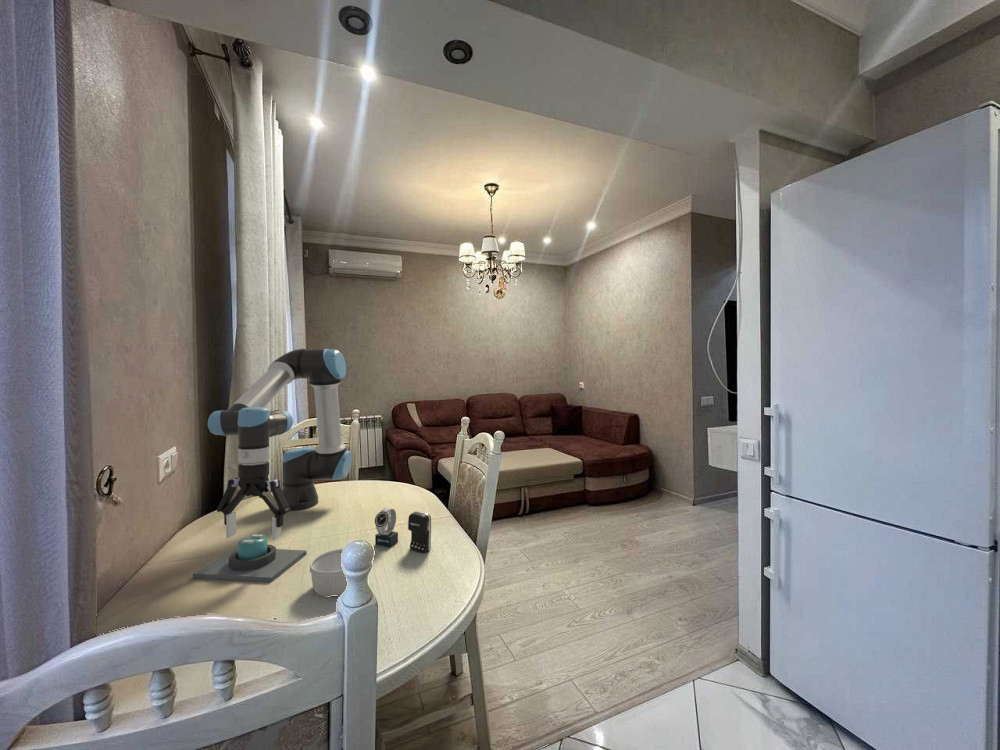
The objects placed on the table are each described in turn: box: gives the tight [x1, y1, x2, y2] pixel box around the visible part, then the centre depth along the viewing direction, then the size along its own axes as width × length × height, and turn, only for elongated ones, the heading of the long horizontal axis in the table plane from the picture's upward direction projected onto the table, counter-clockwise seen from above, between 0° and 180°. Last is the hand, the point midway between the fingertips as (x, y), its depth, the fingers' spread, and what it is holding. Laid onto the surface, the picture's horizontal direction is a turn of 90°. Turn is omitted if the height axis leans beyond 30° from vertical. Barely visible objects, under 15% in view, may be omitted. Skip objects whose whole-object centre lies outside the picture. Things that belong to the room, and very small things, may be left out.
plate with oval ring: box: [191, 543, 307, 583], centre depth 112 cm, size 16×22×4 cm
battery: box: [407, 510, 432, 554], centre depth 123 cm, size 7×4×11 cm, turn 60°
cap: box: [237, 534, 268, 560], centre depth 112 cm, size 7×7×7 cm
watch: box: [374, 507, 399, 548], centre depth 127 cm, size 6×8×11 cm
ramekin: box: [309, 548, 347, 597], centre depth 102 cm, size 13×13×7 cm
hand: (253, 537), depth 112 cm, fingers open, 13 cm apart
